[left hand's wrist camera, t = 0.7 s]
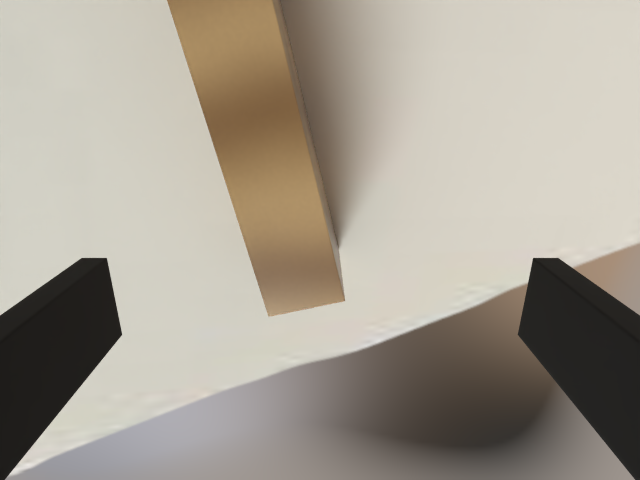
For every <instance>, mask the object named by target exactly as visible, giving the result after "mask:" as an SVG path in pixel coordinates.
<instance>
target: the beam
mask: <svg viewBox="0 0 640 480" xmlns="http://www.w3.org/2000/svg"><path fill="white" fill-rule="evenodd" d="M167 1H168V4H169V7H170V11H171V14H172V17H173V20H174V23H175V26H176V29H177V32H178V36H179V39H180V42H181V45H182V48H183V51H184V54H185V57H186V60H187V64H188V67H189V70H190V73H191V76H192V79H193V82H194V85H195V89H196V92H197V95H198V98H199V101H200V104H201V107H202V110H203V113H204V117H205V120H206V123H207V126H208V129H209V132H210V135H211V138H212V141H213V145H214V148H215V151H216V154H217V157H218V160H219V163H220V166H221V170H222V173H223V176H224V179H225V182H226V185H227V188H228V191H229V194H230V198H231V201H232V204H233V207H234V210H235V213H236V216H237V219H238V223H239V226H240V229H241V232H242V235H243V238H244V241H245V244H246V247H247V251H248V254H249V257H250V260H251V263H252V266H253V269H254V272H255V276H256V279H257V282H258V285H259V288H260V291H261V294H262V297H263V300H264V304H265V307H266V310H267V313H268V316H269V317H270V316H275V315H280V314H285V313H290V312H294V311H299V310H304V309H309V308H314V307H319V306H323V305H328V304H333V303H338V302H343V301H345V297H344V288H343V280H342V272H341V264H340V256H339V248H338V244H337V240H336V236H335V231H334V227H333V223H332V219H331V214H330V210H329V206H328V202H327V197H326V193H325V189H324V185H323V180H322V176H321V172H320V168H319V163H318V159H317V155H316V151H315V146H314V142H313V138H312V134H311V129H310V125H309V121H308V117H307V112H306V108H305V104H304V100H303V95H302V91H301V87H300V83H299V78H298V74H297V70H296V66H295V61H294V57H293V53H292V49H291V44H290V40H289V36H288V32H287V27H286V23H285V19H284V15H283V10H282V6H281V2H280V0H167Z"/></svg>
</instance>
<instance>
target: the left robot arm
mask: <svg viewBox="0 0 640 480" xmlns="http://www.w3.org/2000/svg"><path fill="white" fill-rule="evenodd" d="M121 335H122V332H121V327H120V322H119V317H118V312H117V307H116V302H115V297H114V292H113V287H112V282H111V277H110V272H109V267H108V262H107V258H81V259H80V260H78V261H77V262H76V263H74V264H73V265H71V266H70V267H68V268H67V269H66V270H64V271H63V272H61V273H60V274H59V275H57V276H56V277H54V278H53V279H51V280H50V281H49V282H47V283H46V284H44V285H43V286H42V287H40V288H39V289H37V290H36V291H34V292H33V293H32V294H30V295H29V296H27V297H26V298H24V299H23V300H22V301H20V302H19V303H17V304H16V305H15V306H13V307H12V308H10V309H9V310H7V311H6V312H5V313H3V314H2V315H0V480H5V479H6V477H7V476H8V475H9V474H10V473H11V471H12V470H13V469H14V468H15V466H16V465H17V464H18V463H19V461H20V460H21V459H22V458H23V456H24V455H25V454H26V453H27V452H28V450H29V449H30V448H31V447H32V445H33V444H34V443H35V442H36V440H37V439H38V438H39V437H40V435H41V434H42V433H43V432H44V431H45V429H46V428H47V427H48V426H49V424H50V423H51V422H52V421H53V419H54V418H55V417H56V416H57V414H58V413H59V412H60V411H61V410H62V408H63V407H64V406H65V405H66V403H67V402H68V401H69V400H70V398H71V397H72V396H73V395H74V393H75V392H76V391H77V390H78V389H79V387H80V386H81V385H82V384H83V382H84V381H85V380H86V379H87V377H88V376H89V375H90V374H91V372H92V371H93V370H94V369H95V368H96V366H97V365H98V364H99V363H100V361H101V360H102V359H103V358H104V356H105V355H106V354H107V353H108V351H109V350H110V349H111V348H112V347H113V345H114V344H115V343H116V342H117V340H118V339H119V338H120V337H121ZM518 335H519V337H520V338H521V339H522V340H523V342H524V343H525V344H526V345H527V347H528V348H529V349H530V350H531V351H532V353H533V354H534V355H535V356H536V358H537V359H538V360H539V361H540V363H541V364H542V365H543V366H544V368H545V369H546V370H547V371H548V372H549V374H550V375H551V376H552V377H553V379H554V380H555V381H556V382H557V384H558V385H559V386H560V387H561V389H562V390H563V391H564V392H565V393H566V395H567V396H568V397H569V398H570V400H571V401H572V402H573V403H574V405H575V406H576V407H577V408H578V409H579V411H580V412H581V413H582V414H583V416H584V417H585V418H586V419H587V421H588V422H589V423H590V424H591V426H592V427H593V428H594V429H595V431H596V432H597V433H598V434H599V435H600V437H601V438H602V439H603V440H604V442H605V443H606V444H607V445H608V447H609V448H610V449H611V450H612V452H613V453H614V454H615V455H616V456H617V458H618V459H619V460H620V461H621V463H622V464H623V465H624V466H625V468H626V469H627V470H628V471H629V473H630V474H631V475H632V476H633V477H634V479H635V480H640V315H638V314H637V313H635V312H634V311H633V310H631V309H630V308H628V307H627V306H625V305H624V304H623V303H621V302H620V301H618V300H617V299H615V298H614V297H613V296H611V295H610V294H608V293H607V292H606V291H604V290H603V289H601V288H600V287H598V286H597V285H596V284H594V283H593V282H591V281H590V280H589V279H587V278H586V277H584V276H583V275H581V274H580V273H578V272H577V271H576V270H574V269H573V268H572V267H570V266H569V265H567V264H566V263H564V262H563V261H562V260H560V259H559V258H533V262H532V267H531V272H530V277H529V282H528V287H527V292H526V297H525V302H524V307H523V312H522V317H521V322H520V327H519V332H518Z"/></svg>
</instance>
